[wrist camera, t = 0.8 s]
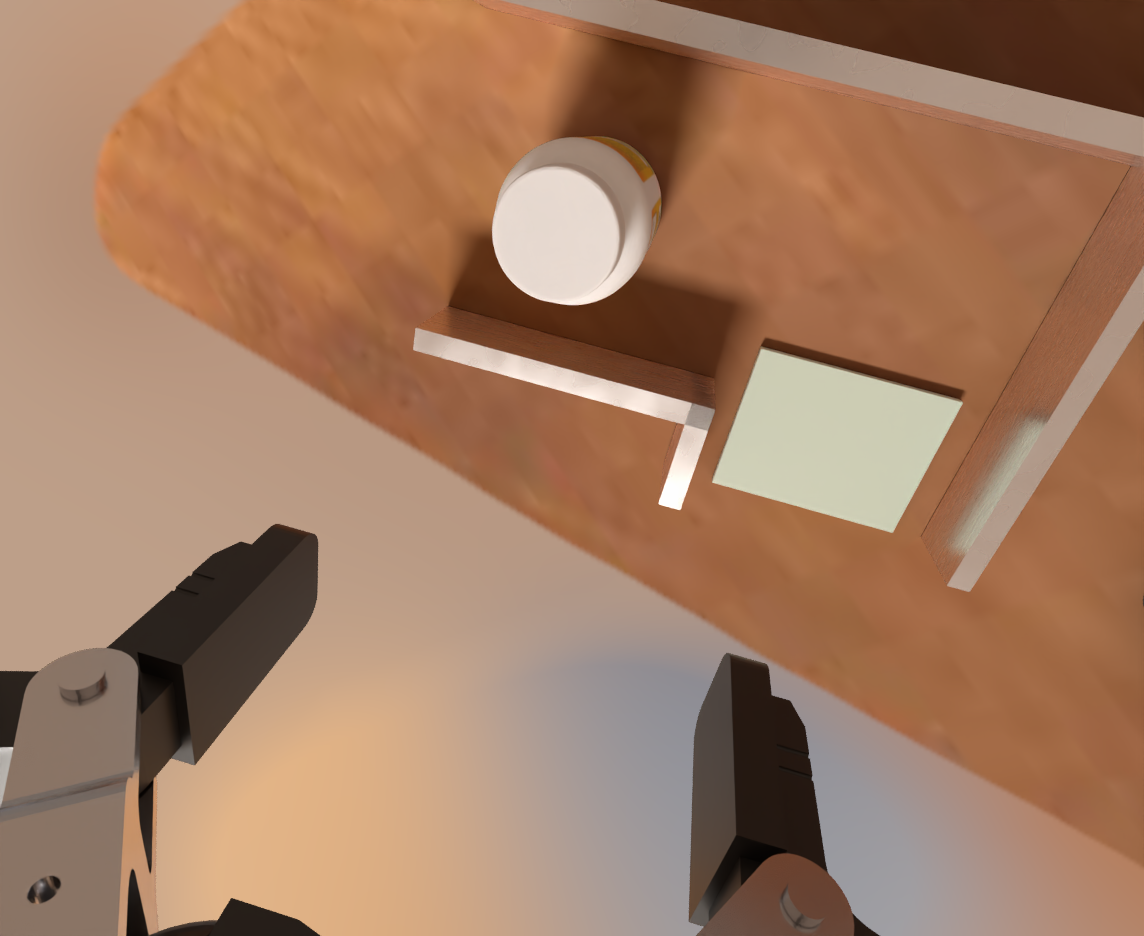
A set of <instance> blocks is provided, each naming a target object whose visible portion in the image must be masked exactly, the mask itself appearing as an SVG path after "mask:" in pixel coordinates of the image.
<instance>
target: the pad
mask: <svg viewBox="0 0 1144 936" xmlns="http://www.w3.org/2000/svg"><path fill="white" fill-rule="evenodd" d="M962 403H963V402H962V401H961V400H960V399H957V398H953V397H949V396H945V395H942V394H938V393H934V392H930V391H927V390H923V389H919V388H915V387H912V386H908V385H904V384H900V383H897V382H893V381H889V380H885V379H882V378H878V377H874V376H871V375H867V374H863V373H859V372H856V371H852V370H848V369H844V368H841V367H837V366H833V365H829V364H826V363H822V362H818V361H814V360H811V359H807V358H803V357H799V356H796V355H792V354H788V353H784V352H781V351H777V350H773V349H769V348H766V347H762V346H761V347H760V349H759V352H758V355H757V358H756V360H755V363H754V366H753V369H752V371H751V374H750V377H749V379H748V382H747V385H746V388H745V390H744V393H743V396H742V398H741V401H740V404H739V407H738V409H737V412H736V415H735V417H734V420H733V423H732V426H731V428H730V431H729V434H728V436H727V439H726V442H725V445H724V447H723V450H722V453H721V455H720V458H719V461H718V464H717V466H716V469H715V472H714V474H713V477H712V482H713V483H716V484H720V485H723V486H727V487H730V488H734V489H738V490H741V491H745V492H748V493H752V494H756V495H759V496H763V497H766V498H770V499H773V500H777V501H781V502H784V503H788V504H791V505H795V506H798V507H802V508H806V509H809V510H813V511H816V512H820V513H823V514H827V515H831V516H834V517H838V518H841V519H845V520H849V521H852V522H856V523H859V524H863V525H866V526H870V527H874V528H877V529H881V530H884V531H888V532H891V533H893V531H894V529H895V527H896V525H897V524H898V522H899V520H900V518H901V516H902V514H903V513H904V511H905V509H906V507H907V505H908V503H909V501H910V500H911V498H912V496H913V494H914V492H915V490H916V489H917V487H918V485H919V483H920V481H921V479H922V477H923V476H924V474H925V472H926V470H927V468H928V466H929V464H930V463H931V461H932V459H933V457H934V455H935V453H936V452H937V450H938V448H939V446H940V444H941V442H942V440H943V439H944V437H945V435H946V433H947V431H948V429H949V428H950V426H951V424H952V422H953V420H954V418H955V416H956V415H957V413H958V411H959V409H960V407H961V405H962Z"/></svg>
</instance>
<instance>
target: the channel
mask: <svg viewBox="0 0 1144 936" xmlns="http://www.w3.org/2000/svg"><path fill="white" fill-rule="evenodd" d="M473 1H475V2H477V3H479V4H480V5H482V6H484V7H486V8H488V9H492V10H496V11H500V12H505V13H509V14H513V15H517V16H521V17H525V18H529V19H533V20H537V21H541V22H545V23H550V24H554V25H558V26H562V27H566V28H570V29H574V30H578V31H582V32H586V33H591V34H595V35H599V36H603V37H607V38H611V39H615V40H619V41H623V42H627V43H631V44H636V45H640V46H644V47H648V48H652V49H656V50H660V51H664V52H668V53H672V54H676V55H681V56H685V57H689V58H693V59H697V60H701V61H705V62H709V63H713V64H717V65H722V66H726V67H730V68H734V69H738V70H742V71H746V72H750V73H754V74H758V75H762V76H767V77H771V78H775V79H779V80H783V81H787V82H791V83H795V84H799V85H803V86H807V87H812V88H816V89H820V90H824V91H828V92H832V93H836V94H840V95H844V96H848V97H852V98H857V99H861V100H865V101H869V102H873V103H877V104H881V105H885V106H889V107H893V108H898V109H902V110H906V111H910V112H914V113H918V114H922V115H926V116H930V117H934V118H938V119H943V120H947V121H951V122H955V123H959V124H963V125H967V126H971V127H975V128H979V129H983V130H988V131H992V132H996V133H1000V134H1004V135H1008V136H1012V137H1016V138H1020V139H1024V140H1029V141H1033V142H1037V143H1041V144H1045V145H1049V146H1053V147H1057V148H1061V149H1065V150H1069V151H1074V152H1078V153H1082V154H1086V155H1090V156H1094V157H1098V158H1102V159H1106V160H1110V161H1114V162H1119V163H1123V164H1127V165H1131V167H1130V169H1129V171H1128V173H1127V175H1126V176H1125V178H1124V180H1123V182H1122V183H1121V185H1120V187H1119V189H1118V190H1117V192H1116V194H1115V196H1114V197H1113V199H1112V201H1111V203H1110V204H1109V206H1108V208H1107V210H1106V212H1105V213H1104V215H1103V217H1102V219H1101V220H1100V222H1099V224H1098V226H1097V227H1096V229H1095V231H1094V233H1093V234H1092V236H1091V238H1090V240H1089V241H1088V243H1087V245H1086V247H1085V249H1084V250H1083V252H1082V254H1081V256H1080V257H1079V259H1078V261H1077V263H1076V264H1075V266H1074V268H1073V270H1072V271H1071V273H1070V275H1069V277H1068V278H1067V280H1066V282H1065V284H1064V286H1063V287H1062V289H1061V291H1060V293H1059V294H1058V296H1057V298H1056V300H1055V301H1054V303H1053V305H1052V307H1051V308H1050V310H1049V312H1048V314H1047V315H1046V317H1045V319H1044V321H1043V323H1042V324H1041V326H1040V328H1039V330H1038V331H1037V333H1036V335H1035V337H1034V338H1033V340H1032V342H1031V344H1030V345H1029V347H1028V349H1027V351H1026V353H1025V354H1024V356H1023V358H1022V360H1021V361H1020V363H1019V365H1018V367H1017V368H1016V370H1015V372H1014V374H1013V375H1012V377H1011V379H1010V381H1009V382H1008V384H1007V386H1006V388H1005V390H1004V391H1003V393H1002V395H1001V397H1000V398H999V400H998V402H997V404H996V405H995V407H994V409H993V411H992V412H991V414H990V416H989V418H988V419H987V421H986V423H985V425H984V427H983V428H982V430H981V432H980V434H979V435H978V437H977V439H976V441H975V442H974V444H973V446H972V448H971V449H970V451H969V453H968V455H967V456H966V458H965V460H964V462H963V464H962V465H961V467H960V469H959V471H958V472H957V474H956V476H955V478H954V479H953V481H952V483H951V485H950V486H949V488H948V490H947V492H946V493H945V495H944V497H943V499H942V501H941V502H940V504H939V506H938V508H937V509H936V511H935V513H934V515H933V516H932V518H931V520H930V522H929V523H928V525H927V527H926V529H925V530H924V532H923V534H922V536H921V538H922V540H923V542H924V544H925V546H926V548H927V549H928V551H929V553H930V555H931V557H932V559H933V561H934V563H935V564H936V566H937V568H938V570H939V572H940V574H941V576H942V578H943V579H944V581H945V583H946V585H947V586H950V587H954V588H957V589H961V590H964V591H968V592H970V591H971V589H972V587H973V586H974V584H975V583H976V581H977V580H978V578H979V577H980V575H981V573H982V572H983V570H984V569H985V567H986V566H987V564H988V562H989V561H990V559H991V558H992V556H993V555H994V553H995V552H996V550H997V548H998V547H999V545H1000V544H1001V542H1002V541H1003V539H1004V537H1005V536H1006V534H1007V533H1008V531H1009V530H1010V528H1011V527H1012V525H1013V523H1014V522H1015V520H1016V519H1017V517H1018V516H1019V514H1020V512H1021V511H1022V509H1023V508H1024V506H1025V505H1026V503H1027V502H1028V500H1029V498H1030V497H1031V495H1032V494H1033V492H1034V491H1035V489H1036V488H1037V486H1038V484H1039V483H1040V481H1041V480H1042V478H1043V477H1044V475H1045V473H1046V472H1047V470H1048V469H1049V467H1050V466H1051V464H1052V463H1053V461H1054V459H1055V458H1056V456H1057V455H1058V453H1059V452H1060V450H1061V448H1062V447H1063V445H1064V444H1065V442H1066V441H1067V439H1068V438H1069V436H1070V434H1071V433H1072V431H1073V430H1074V428H1075V427H1076V425H1077V423H1078V422H1079V420H1080V419H1081V417H1082V416H1083V414H1084V413H1085V411H1086V409H1087V408H1088V406H1089V405H1090V403H1091V402H1092V400H1093V398H1094V397H1095V395H1096V394H1097V392H1098V391H1099V389H1100V388H1101V386H1102V384H1103V383H1104V381H1105V380H1106V378H1107V377H1108V375H1109V373H1110V372H1111V370H1112V369H1113V367H1114V366H1115V364H1116V363H1117V361H1118V359H1119V358H1120V356H1121V355H1122V353H1123V352H1124V350H1125V348H1126V347H1127V345H1128V344H1129V342H1130V341H1131V339H1132V338H1133V336H1134V334H1135V333H1136V331H1137V330H1138V328H1139V327H1140V325H1141V323H1142V322H1143V320H1144V118H1143V117H1139V116H1135V115H1131V114H1126V113H1122V112H1118V111H1114V110H1110V109H1106V108H1101V107H1097V106H1093V105H1089V104H1085V103H1081V102H1076V101H1072V100H1068V99H1064V98H1060V97H1056V96H1051V95H1047V94H1043V93H1039V92H1035V91H1031V90H1026V89H1022V88H1018V87H1014V86H1010V85H1006V84H1002V83H997V82H993V81H989V80H985V79H981V78H977V77H972V76H968V75H964V74H960V73H956V72H952V71H947V70H943V69H939V68H935V67H931V66H927V65H922V64H918V63H914V62H910V61H906V60H902V59H897V58H893V57H889V56H885V55H881V54H877V53H872V52H868V51H864V50H860V49H856V48H852V47H847V46H843V45H839V44H835V43H831V42H827V41H822V40H818V39H814V38H810V37H806V36H802V35H797V34H793V33H789V32H785V31H781V30H777V29H772V28H768V27H764V26H760V25H756V24H752V23H747V22H743V21H739V20H735V19H731V18H727V17H722V16H718V15H714V14H710V13H706V12H702V11H698V10H693V9H689V8H685V7H681V6H677V5H673V4H668V3H664V2H660V1H656V0H473ZM413 350H415V351H419V352H422V353H426V354H430V355H433V356H437V357H441V358H444V359H448V360H451V361H455V362H459V363H462V364H466V365H470V366H473V367H477V368H481V369H484V370H488V371H491V372H495V373H499V374H502V375H506V376H510V377H513V378H517V379H520V380H524V381H528V382H531V383H535V384H539V385H542V386H546V387H550V388H553V389H557V390H560V391H564V392H568V393H571V394H575V395H579V396H582V397H586V398H589V399H593V400H597V401H600V402H604V403H608V404H611V405H615V406H619V407H622V408H626V409H629V410H633V411H637V412H640V413H644V414H648V415H651V416H655V417H658V418H662V419H666V420H669V421H673V422H677V424H676V427H675V431H674V434H673V437H672V440H671V443H670V446H669V449H668V452H667V455H666V458H665V461H664V464H663V472H662V480H661V488H660V496H659V504H660V505H664V506H667V507H671V508H674V509H678V510H680V509H681V506H682V503H683V501H684V498H685V495H686V492H687V489H688V486H689V483H690V481H691V478H692V475H693V472H694V469H695V466H696V464H697V461H698V458H699V455H700V452H701V449H702V446H703V444H704V441H705V438H706V435H707V432H708V429H709V426H710V424H711V421H712V418H713V415H714V412H715V386H714V378H711V377H707V376H704V375H700V374H696V373H693V372H689V371H685V370H682V369H678V368H674V367H670V366H667V365H663V364H659V363H656V362H652V361H648V360H645V359H641V358H637V357H633V356H630V355H626V354H622V353H619V352H615V351H611V350H608V349H604V348H600V347H597V346H593V345H589V344H585V343H582V342H578V341H574V340H571V339H567V338H563V337H560V336H556V335H552V334H549V333H545V332H541V331H537V330H534V329H530V328H526V327H523V326H519V325H515V324H512V323H508V322H504V321H501V320H497V319H493V318H489V317H486V316H482V315H478V314H475V313H471V312H467V311H464V310H460V309H456V308H453V307H449V306H447V307H446V308H444V309H443V310H441V311H440V312H438V313H437V314H435V315H434V316H432V317H431V318H429V319H428V320H426V321H425V322H423V323H422V324H420V325H419V326H417V327H416V329H415V338H414V347H413Z"/></svg>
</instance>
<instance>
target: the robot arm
mask: <svg viewBox="0 0 1144 936" xmlns="http://www.w3.org/2000/svg"><path fill="white" fill-rule="evenodd" d="M317 583H318V539H317V536H316V535H315V534H312V533H309V532H305V531H301V530H298V529H294V528H291V527H288V526H284V525H280V524H275V525H273V526H271V527H270V528H269V529H268V530H267V531H266V532H265V533H263V535H261V536H260V537H259V538H258V539H257V540H256V541H255V542H254V543H253V544H252V545H251V544H247V543H244V542H239V543H237V544H234V545H232V546H230V547H228V548H226V549H224V550H222V551H219V552H217V553H215V554H213V555H212V556H210V557H209V558H208V559H207V560H206V561H205V562H204V563H202V564H201V565H200V566H199V567H198V568H197V569H196V570H195V571H193V574H192V576H188V577H187V578H186V579H184V580H183V581H182V582H181V583H180V584H179V585H178V586H176V589H175V591H171V592H170V593H169V594H167V595H166V596H165V597H164V598H163V599H162V600H161V601H159V602H158V603H157V604H156V605H155V606H154V607H153V608H152V609H150V610H149V611H148V612H147V613H146V614H145V615H144V616H142V617H141V618H140V619H139V620H138V621H137V622H136V623H135V624H133V625H132V626H131V627H130V628H129V629H128V630H127V631H125V632H124V633H123V634H122V635H121V636H120V637H119V638H118V639H116V640H115V641H114V642H113V643H112V644H111V645H109V646H108V647H107V648H93V649H86V650H81V651H77V652H74V653H71V654H68V655H65V656H63V657H61V658H58V659H57V660H55V661H53V662H51V663H49V664H48V665H47V666H45V667H44V668H42V669H41V670H40V671H37V672H36V671H35V672H28V671H25V672H23V671H0V936H320V935H319V934H317V933H316V932H315V931H313V930H312V929H310V928H309V927H308V926H307V925H305V924H304V923H302V922H301V921H300V920H297V919H295V918H292V917H288V916H285V915H282V914H279V913H276V912H273V911H270V910H267V909H264V908H261V907H257V906H254V905H251V904H248V903H245V902H242V901H239V900H236V899H233V898H231V899H230V901H229V903H228V904H227V906H226V908H225V909H224V911H223V912H222V914H221V916H220V918H219V919H218V920H209V921H201V922H193V923H187V924H183V925H179V926H174V927H170V928H167V929H164V930H162V931H159V932H158V915H157V904H156V826H157V821H156V819H157V779H156V775H157V774H158V773H159V772H160V771H161V769H162V768H163V767H164V766H165V765H166V764H167V762H168V761H169V760H170V759H171V758H172V759H175V760H179V761H182V762H185V763H189V764H192V765H195V764H196V763H197V762H198V761H199V759H200V758H201V757H202V756H203V754H204V753H205V752H206V751H207V749H208V748H209V747H210V746H211V744H212V743H213V742H214V741H215V739H216V738H217V737H218V735H219V734H220V733H221V732H222V730H223V729H224V728H225V727H226V725H227V724H228V723H229V722H230V720H231V719H232V718H233V717H234V715H235V714H236V713H237V712H238V710H239V709H240V708H241V706H242V705H243V704H244V703H245V701H246V700H247V699H248V698H249V696H250V695H251V694H252V693H253V691H254V690H255V689H256V687H257V686H258V685H259V684H260V683H261V681H262V680H263V679H264V678H265V676H266V675H267V674H268V673H269V671H270V670H271V669H272V668H273V666H274V665H275V664H276V662H277V661H278V660H279V659H280V657H281V656H282V655H283V654H284V652H285V651H286V650H287V649H288V647H289V646H290V645H291V644H292V642H293V641H294V640H295V638H296V637H297V636H298V635H299V633H300V632H301V631H302V630H303V628H304V627H305V626H306V624H307V623H308V621H309V619H310V617H311V615H312V613H313V610H314V608H315V604H316V600H317ZM808 755H809V750H808V743H807V737H806V730H805V726H804V724H803V723H802V721H801V719H800V717H799V716H798V714H797V712H796V710H795V708H794V707H793V705H792V703H791V702H790V701H789V700H786V699H782V698H779V697H775V696H772V695H771V685H770V675H769V668H768V666H767V664H765V663H761V662H758V661H754V660H751V659H747V658H744V657H740V656H737V655H733V654H730V653H726V654H725V655H724V657H723V659H722V661H721V663H720V665H719V667H718V670H717V672H716V674H715V677H714V679H713V681H712V684H711V686H710V688H709V691H708V693H707V696H706V698H705V700H704V702H703V704H702V707H701V710H700V712H699V716H698V720H697V724H696V729H695V736H694V758H693V759H694V760H693V793H692V826H691V862H690V863H691V864H690V895H689V922H691V923H694V924H697V925H700V926H704V928H703V929H702V930H701V931H700V932H699V933H698V934H697V935H696V936H879V935H878V934H876V933H875V932H873V931H872V930H871V929H869V928H868V927H866V926H865V925H864V924H863V923H862V922H861V921H860V920H859V919H857V918H856V916H855V915H854V914H853V913H852V911H851V907H850V905H849V903H848V900H847V898H846V897H845V895H844V893H843V891H842V890H841V888H840V887H839V886H838V884H837V883H836V882H835V880H834V879H833V878H832V877H831V876H830V875H829V874H828V872H827V867H826V862H825V856H824V850H823V843H822V836H821V829H820V823H819V816H818V809H817V803H816V797H815V790H814V783H813V781H812V770H811V763H810V759H809V758H808Z"/></svg>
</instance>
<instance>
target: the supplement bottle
mask: <svg viewBox="0 0 1144 936" xmlns="http://www.w3.org/2000/svg"><path fill="white" fill-rule="evenodd" d="M661 205H662V204H661V192H660V187H659V184H658V180H657V178H656V175H655V173H654V171H653V169H652V168H651V166H650V164H649V163H648V162H647V160H646V159H645V158H644V157H643V156H642V155H641V154H640V153H639V152H638V151H637V150H636V149H634V148H633V147H631V146H630V145H628V144H626V143H625V142H622V141H620V140H617V139H614V138H610V137H605V136H589V137H567V138H560V139H555V140H551V141H549V142H546V143H544V144H542V145H540V146H538V147H536V148H534V149H533V150H531V151H530V152H528V153H527V154H526V155H525V156H523V157H522V158H521V159H520V160H519V161H518V162H517V164H516V165H515V166H514V167H513V168H512V169H511V171H510V172H509V174H508V175H507V177H506V179H505V181H504V183H503V185H502V187H501V190H500V192H499V196H498V200H497V204H496V210H495V213H494V218H493V225H492V239H493V245H494V249H495V253H496V257H497V259H498V261H499V264H500V266H501V268H502V269H503V271H504V273H505V274H506V275H507V277H508V278H509V279H510V280H511V281H512V282H513V283H514V284H515V285H516V286H517V287H518V288H519V289H521V290H522V291H523V292H525V293H526V294H528V295H530V296H532V297H534V298H537V299H540V300H543V301H548V302H553V303H558V304H564V305H583V304H589V303H592V302H596V301H599V300H601V299H603V298H606V297H608V296H609V295H611V294H613V293H614V292H616V291H617V290H618V289H620V288H621V287H622V286H623V285H624V284H625V283H626V282H627V281H628V280H629V279H630V278H631V277H632V276H633V275H634V274H635V272H636V271H637V269H638V268H639V266H640V265H641V263H642V261H643V259H644V257H645V255H646V253H647V251H648V249H649V247H650V245H651V242H652V240H653V238H654V236H655V234H656V231H657V229H658V225H659V222H660V216H661Z"/></svg>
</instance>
